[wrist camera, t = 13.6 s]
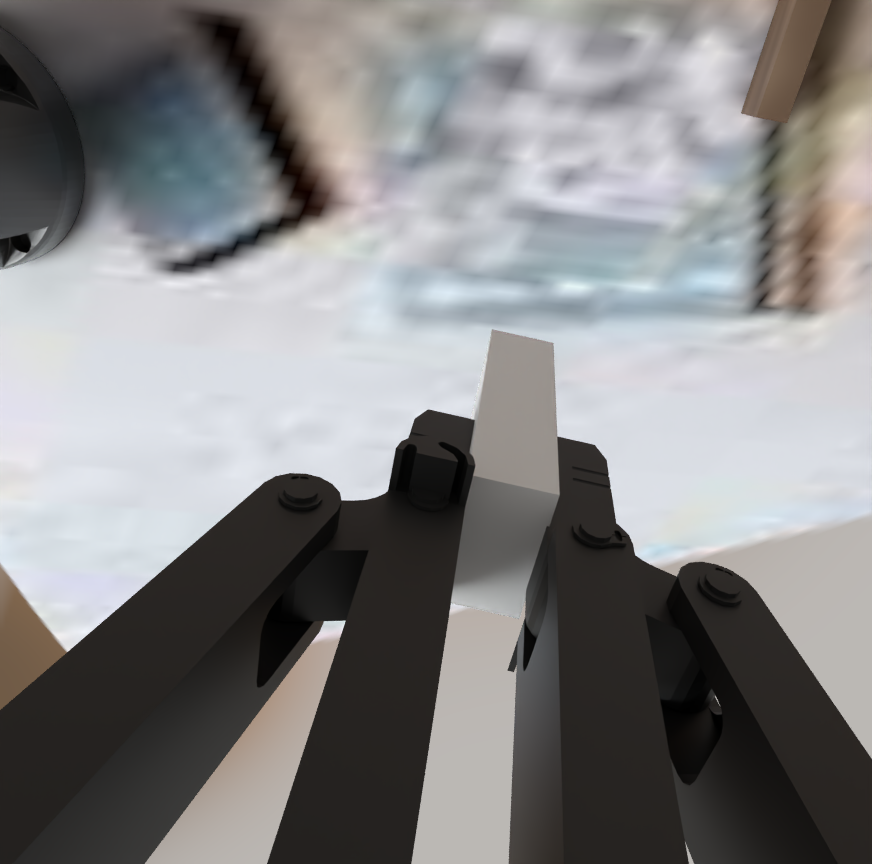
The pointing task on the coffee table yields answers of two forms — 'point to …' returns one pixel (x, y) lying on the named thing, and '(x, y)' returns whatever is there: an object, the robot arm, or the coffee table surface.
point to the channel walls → (785, 58)
